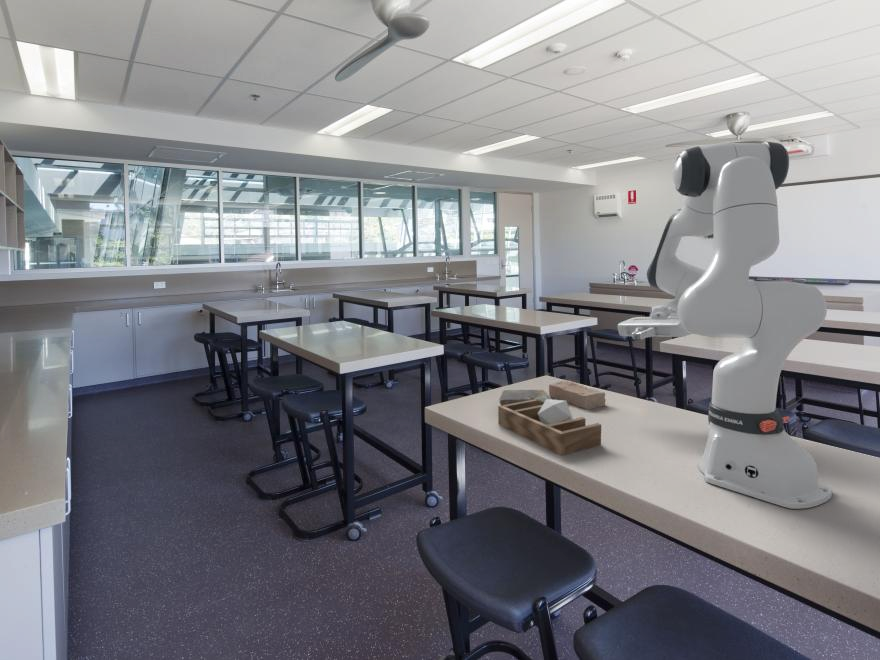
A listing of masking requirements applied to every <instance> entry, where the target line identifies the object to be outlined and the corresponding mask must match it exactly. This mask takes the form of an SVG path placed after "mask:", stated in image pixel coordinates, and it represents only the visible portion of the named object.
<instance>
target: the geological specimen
mask: <svg viewBox="0 0 880 660" xmlns="http://www.w3.org/2000/svg"><path fill="white" fill-rule="evenodd" d="M533 399H536V400H538V406H539V405H543V404H544V402H545V400H546V399H551V397H550V396H549V393H547V391H546V390H544V389H504V390H503V391H502V393H501V395H500V397H499V401H498V402H499V404H500V406H502V405H507V404H513V403H518V402H523V401H528V400H533Z"/></svg>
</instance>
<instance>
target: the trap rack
mask: <svg viewBox="0 0 880 660" xmlns="http://www.w3.org/2000/svg"><path fill="white" fill-rule="evenodd" d="M542 406H543V405H539V406H538V400H536V399H533V400H528V401H523V402H518V403H513V404H507V405H502V406H501V405H498V410H497V411H498V413H497V414H498V423H497V424H498V425H499V426H502V427H504V428H505V429H507V430H509V431H511V432H513V433H516V434H517V435H520V437H521V436H522V437H523V438H526V439H528V440H529V441H532V442H533V443H535V444H538V445H540V446H541V447H544V448H546V449H548V450H549V451H552V452H554V453H555V454H558V455H560V456H563V455H567V454H572V453H576V452H578V451H583V450H585V449H590V448H594V447H598V446H601V445H602V423H599V422H596V423H593V424H587V425H586V420H587V419H586V418H585V417H577V418H572V420H567V421H563V422H558V423H554V424H549V425H546V424H543V423H541V421H540V419H539V416H538V413H539V411H540V409H541V407H542Z"/></svg>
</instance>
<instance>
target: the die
mask: <svg viewBox="0 0 880 660" xmlns="http://www.w3.org/2000/svg"><path fill="white" fill-rule="evenodd" d="M538 416H539V419H540V421H541V423H543V424H546V425H549V424H554V423H558V422H563V421H567V420H572V419H573V416H572V413H571V410H570V407H569V403H567V401H564V400H557V399H552V398H550V399H546V400H545V402H544V404H543V406H542V407H541V409H540V411H539V413H538Z"/></svg>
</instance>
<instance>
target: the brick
mask: <svg viewBox="0 0 880 660" xmlns="http://www.w3.org/2000/svg"><path fill="white" fill-rule="evenodd" d="M548 396H549V398H551V399H553V400H564V401H567V404H568V405H572V406H575V407H578V408H582V409H585V410H590V409H594V408H600V407H605V406H606V398H605V397H606V392H604V391H601V390H598V389H596V388H595V389H594V388H590V387H586V386H584V385H582V384H578V383H577V382H574V381H571V380H561V381H557V382H554V383H550V384H548Z"/></svg>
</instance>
